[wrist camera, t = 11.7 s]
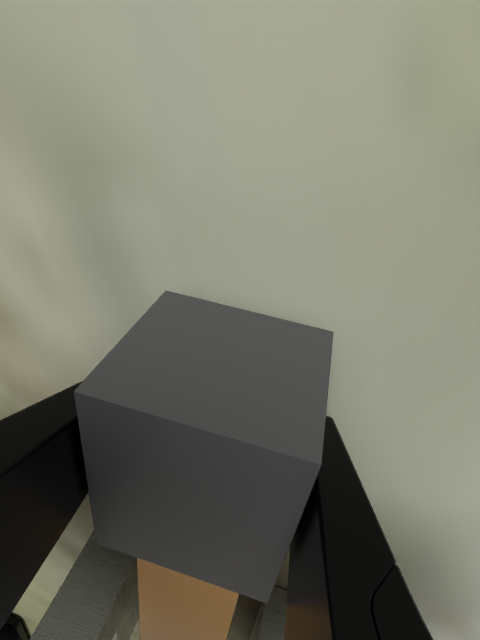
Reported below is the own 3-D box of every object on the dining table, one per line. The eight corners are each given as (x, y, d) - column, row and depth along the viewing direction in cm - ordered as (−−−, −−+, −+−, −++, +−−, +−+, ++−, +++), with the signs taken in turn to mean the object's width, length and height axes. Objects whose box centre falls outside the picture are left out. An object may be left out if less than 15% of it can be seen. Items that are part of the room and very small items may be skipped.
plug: (243, 612, 18) (219, 726, 15) (158, 582, 18) (117, 684, 15) (333, 331, 9) (321, 465, 6) (165, 290, 10) (73, 391, 6)
